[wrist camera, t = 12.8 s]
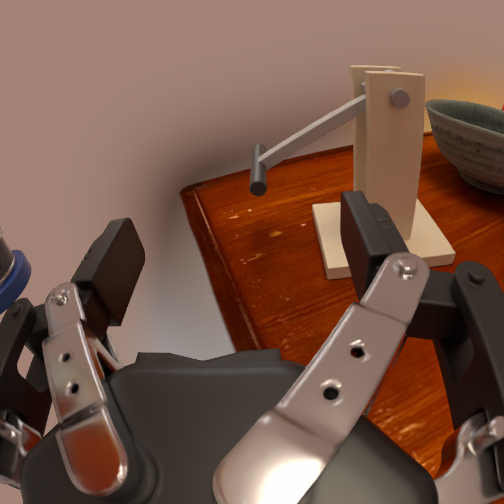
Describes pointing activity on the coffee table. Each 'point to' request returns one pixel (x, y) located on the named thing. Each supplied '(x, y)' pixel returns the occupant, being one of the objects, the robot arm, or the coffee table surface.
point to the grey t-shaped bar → (300, 141)
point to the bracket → (386, 167)
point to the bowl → (471, 140)
